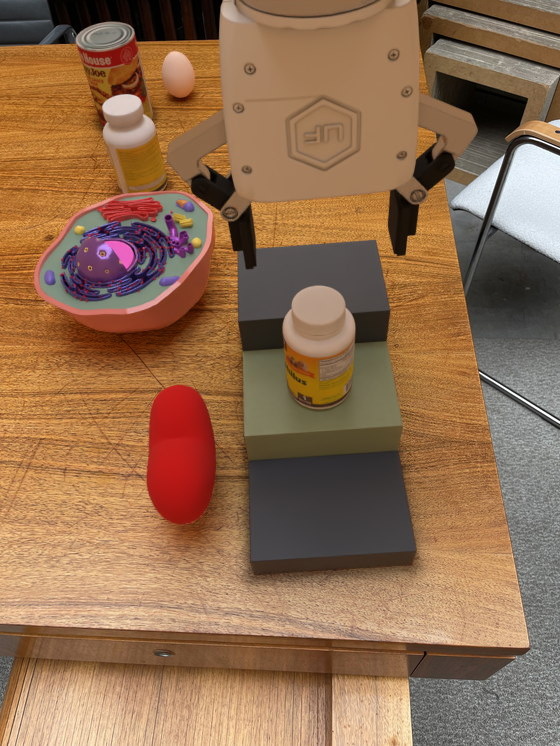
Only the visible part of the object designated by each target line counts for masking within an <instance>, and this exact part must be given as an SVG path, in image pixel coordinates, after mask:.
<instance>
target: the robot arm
mask: <svg viewBox="0 0 560 746" xmlns="http://www.w3.org/2000/svg"><path fill="white" fill-rule="evenodd" d="M219 12H220V13H219V27H218V28H219V30H218V31H219V32H218V54H219V55H218V57H219V78H220V88H221V99H222V108H221V109H220V110H218V111H217V112H216V113H214V114H212V115H210V116H209V117H208V118H205V119H204V120H203V121H201V122H199V123H198V124H196V125H195V126H193V127H192V128H189V130H187V131H184V133H182V134H181V135H179V136H177V137H175V138H174V139H173V140H171V141H170V142H168V145H167V151H166V153H167V154H166V163H167V164H168V165H169V167H170V168H171V169H172V170H173V171H174V172H175V173H176V174H177V176H178V177H179V178H180V179H181V180H182V181H183V182H184V183H186V184H187V185H188V186H189V187H190V192H191V193H192V195H193V196H195V197H196V198H197V199H199V200H200V201H203V203H206V204H207V205H209V206H211V207H212V208H214V209H216V210H217V211H218V212H219V215H220V218H222V220H224V221H226V222H227V226H228V230H229V236H230V242H231V247H232V252H234V253H235V252H237V251H243V255H244V261H245V267H246V270H248V269H254V267H257V260H256V248H257V238H256V230H255V222H254V215H253V208H252V203H260V204H263V203H264V204H270V203H271V204H272V203H284V202H285V203H287V202H298V201H309V200H319V199H332V198H341V197H352V196H353V197H354V196H360V195H362V196H363V195H372V194H380V193H386V192H389V199H388V200H389V201H388V211H387V212H388V213H387V230H388V231H387V232H388V234H389V238H390V244H391V248H392V253H393V255H396V256H397V257H404V256H406V255H407V248H408V247H407V246H408V238H409V237H412V236H413V237H414V236H416V235H417V229H418V228H417V227H418V219H419V211H420V204H423V203H425V201H426V200H427V199H428V196H429V191H430V190H431V189H432V188H434V187H435V186H436V185H438V184H439V183H440V182H441V181H442V180H443V179H445V178H446V177H448V175H449V174H451V173H452V172H453V170H454V169H455V168H456V161H457V160H458V159H459V158H460V157H462V156H463V154H464V153H465V151H466V150H467V148H468V147H469V146H470V144H471V143H472V141H473V140H474V139H475V137H476V136H477V134H478V132H479V131H478V130H479V129H478V127H477V124H476V122H475V119H474V116H473V115H472V113H471V112H468V111H466V110H464V109H461V108H459V107H456V106H454V105H452V104H449V103H447V102H444V101H442V100H439V99H437V98H435V97H432V96H430V95H428V94H425V93H422V92H420V71H421V70H420V69H421V67H420V66H421V65H420V62H421V61H420V59H421V58H420V56H421V55H420V29H419V27H420V26H419V12H418V3H417V0H222V2H221V5H220V11H219ZM419 127H420V128H422V129H425V130H427V131H430V132H432V133H434V134H437V135H440V136H439V137H438V140H437V141H436V142H434V143H432V144H431V145H430V146H429V147H428V148H427V149H426V150H425V151H423V153H421V154H420V155H419V156H418V155H417V154H418V139H419ZM226 144H227V153H228V161H229V166H230V169H229V170H228V173H226V175H225V176H224V175H223V174H221V173H219V172H218V170H216V169H214V168H212V167H211V166H209V165H208V164H205V163H204V162H203V158H205V157H206V156H208V155H209V154H211V153H213V152H215V151H216V150H218V149H219V148H221V147H223V146H224V145H226ZM417 156H418V157H417Z"/></svg>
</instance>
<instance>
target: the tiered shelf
mask: <svg viewBox="0 0 560 746" xmlns="http://www.w3.org/2000/svg"><path fill="white" fill-rule="evenodd" d="M236 252H237V253H236V254H237V324H238V331H239V336H240V337H239V338H240V342H241V343H240V344H241V348H242V349H241V350H242V386H243V387H242V392H243V393H242V397H243V409H242V410H243V440H244V445H245V449H246V455H247V460H248V506H249V507H248V509H249V562H250V566H251V570H252V574H253V575H255V576H256V575H257V576H259V575H273V574H287V573H288V574H289V573H303V572H321V571H335V570H350V569H351V570H352V569H365V568H367V569H368V568H379V567H381V568H383V567H398V566H411V565H412V566H413V565H414V561H415V559H416V558H415V557H416V554H417V545H416V539H415V534H414V529H413V521H412V517H411V511H410V506H409V501H408V495H407V490H406V484H405V479H404V474H403V467H402V463H401V456H400V451H399V450H400V445H401V444H400V442H401V437H402V433H403V427H404V424H403V418H402V412H401V408H400V402H399V397H398V392H397V387H396V381H395V377H394V371H393V367H392V366H393V365H392V361H391V356H390V351H389V350H390V349H389V344H388V335H389V334H388V333H389V326H390V317H391V306H390V302H389V296H388V291H387V287H386V282H385V277H384V272H383V266H382V263H381V256H380V252H379V247H378V242H377V239H367V240H366V239H365V240H353V241H339V242H325V243H311V244H299V245H286V246H285V245H284V246H271V247H270V246H269V247H259V248H257V247H256V260H257V267H254V269H248V270H246V267H245V261H244V255H243V251H236ZM311 286H327V287H330V288H333V289H335V290H336V291H338V292H339V293H340V294H341V295H342V297H343V298H344V300H345V307H346V308H347V309H348V310H349V311H350V313H351V314H352V316H353V318H354V321H355V346H354V364H353V378H352V387H351V390H350V392H349V394H348V396H347V397H346V398H345V399H344V400H343V401H342V402H341V403H340V404H338V405H336V406H334V407H331V408H327V409H312V408H308V407H306V406H303V405H301V404H300V403H298V402H297V401H296V400H295V399H294V398H293V397H292V395H291V394H290V392H289V389H288V386H287V378H286V366H285V353H284V342H283V321H284V319H285V316H286V315H287V313H288V312H289V311H290V310H291V309H292V301H293V299H294V297H295V296H296V294H297V293H298V292H300V291H301V290H303V289H305V288H308V287H311Z"/></svg>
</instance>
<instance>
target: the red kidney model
mask: <svg viewBox="0 0 560 746" xmlns="http://www.w3.org/2000/svg"><path fill="white" fill-rule="evenodd" d="M212 424H213V423H212V420H211V416H210V412H209V410H208V407H207V403H206V402H205V399H204V398H203V396H202V395H201V394H200V393H199V391H197V390H196V389H195V388H193V387H191V386H189V385H186V384H185V385H184V384H173V385H170V386H168V387H166V388H164V389H162V390H161V391H159V393H158V394H157V395H156V396H155V398H154V399H153V402H152V404H151V408H150V413H149V425H148V457H147V466H146V489H147V494H148V496H149V499H150V501H151V503H152V505H153V507H154V509H155V510H156V512H157V513H158V514H159V515H160V516H161V517H162V518H163V519H164V520H166V521H167V522H169V523H171V524H174V525H178V526H179V525H183V526H184V525H189V524H192V523H194V522H196V521H198V520H199V519H200V518H201V517H202V516H203V515H204V514H205V512H206V511H207V510H208V507H209V505H210V503H211V500H212V498H213V494H214V488H215V483H216V475H217V450H216V440H215V439H216V438H215V434H214V429H213V425H212Z"/></svg>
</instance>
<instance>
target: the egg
mask: <svg viewBox="0 0 560 746" xmlns="http://www.w3.org/2000/svg"><path fill="white" fill-rule="evenodd" d="M193 67H194V66H193V65H192V62H190V60H189V59H188V57H187V56H186V55H185V54H183V53H182V52H181V51H176V50H174V51H171V52H168V54H167V55H166V56H165V58H164V60H163V62H162V67H161V79H162V82H163V85H164V88H165V89H166V91H167V92H168V93H169V94H170V95H172V96H173V97H176V98H178V99H183V98H186V97H187V96H189V95H190V94H191V93H192V91H193V89H194V87H195V84H196V83H195V82H196V76H195V71H194V68H193Z"/></svg>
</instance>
